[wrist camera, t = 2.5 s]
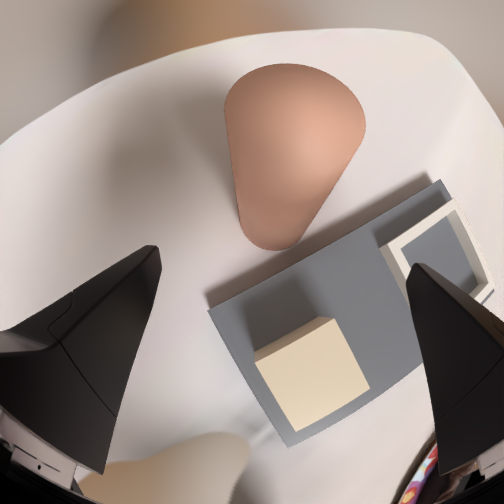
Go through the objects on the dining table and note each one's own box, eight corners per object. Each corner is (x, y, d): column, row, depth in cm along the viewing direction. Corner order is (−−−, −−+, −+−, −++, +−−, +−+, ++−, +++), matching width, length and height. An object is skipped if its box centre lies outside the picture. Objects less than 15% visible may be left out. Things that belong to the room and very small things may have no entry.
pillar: (306, 252, 21) (373, 178, 9) (237, 248, 21) (216, 163, 9) (307, 189, 22) (355, 73, 10) (242, 184, 22) (232, 60, 10)
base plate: (484, 292, 21) (522, 286, 15) (285, 440, 18) (294, 475, 13) (432, 185, 23) (464, 160, 17) (210, 310, 21) (195, 311, 15)
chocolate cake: (411, 565, 13) (427, 587, 6) (351, 483, 18) (375, 522, 11) (542, 443, 16) (566, 450, 9) (529, 311, 20) (566, 307, 14)
